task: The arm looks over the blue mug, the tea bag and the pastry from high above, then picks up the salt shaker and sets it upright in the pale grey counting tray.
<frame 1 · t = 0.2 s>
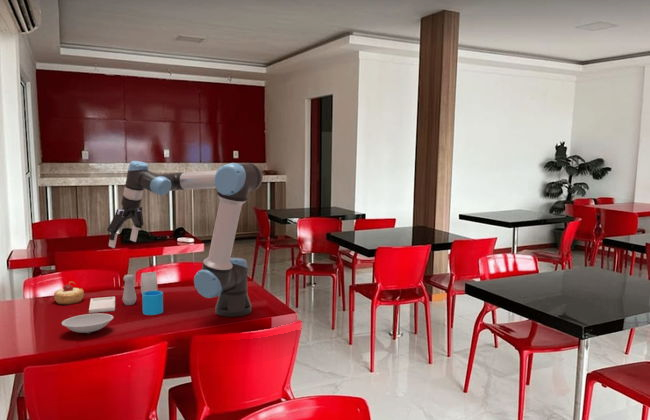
hand: (122, 243, 226), 27 cm above the table, tool tilted 15°, fingers open, 13 cm apart
counting tray: (102, 306, 227), on the table
dish: (88, 333, 196), on the table
mug: (152, 311, 223), on the table
salt shaker: (129, 304, 231), on the table
pastry: (69, 302, 233), on the table
tea bag: (149, 293, 249), on the table
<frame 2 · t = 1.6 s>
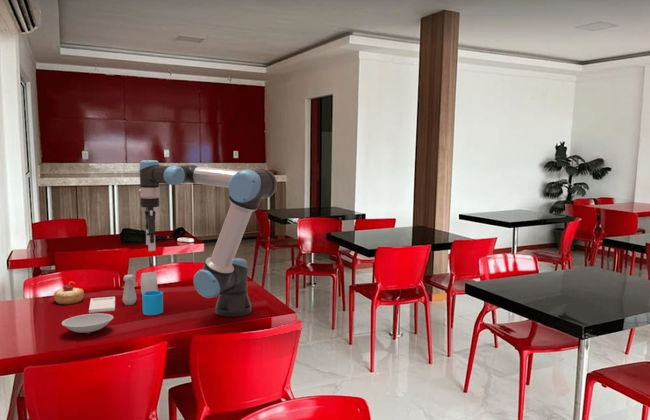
hand: (150, 247, 221), 27 cm above the table, tool pointing down, fingers open, 13 cm apart
nothing on the table moved.
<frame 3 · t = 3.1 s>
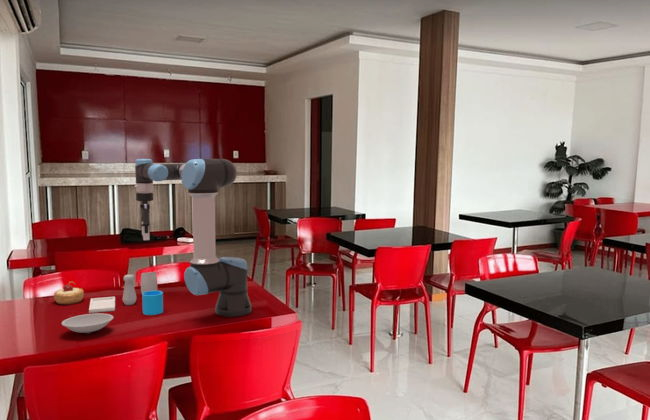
hand: (145, 237, 245), 27 cm above the table, tool pointing down, fingers open, 13 cm apart
nothing on the table moved.
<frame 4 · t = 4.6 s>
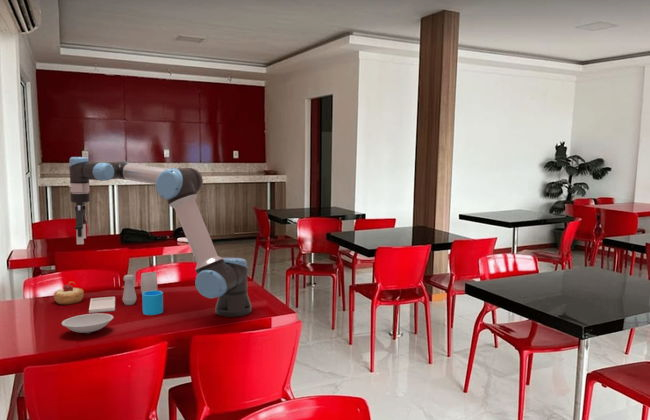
hand: (81, 241, 229), 27 cm above the table, tool pointing down, fingers open, 13 cm apart
nothing on the table moved.
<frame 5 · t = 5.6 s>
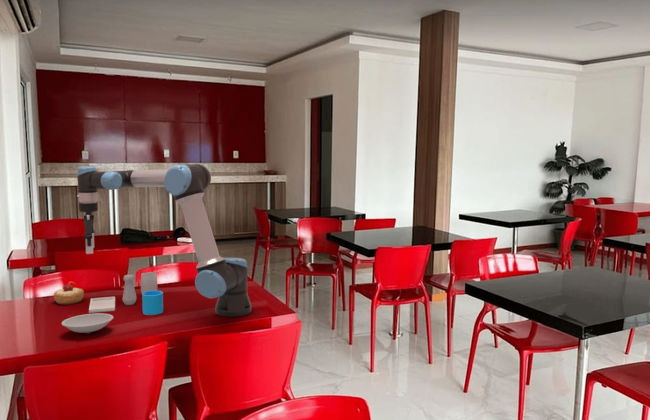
hand: (90, 250, 229), 24 cm above the table, tool pointing down, fingers open, 13 cm apart
nothing on the table moved.
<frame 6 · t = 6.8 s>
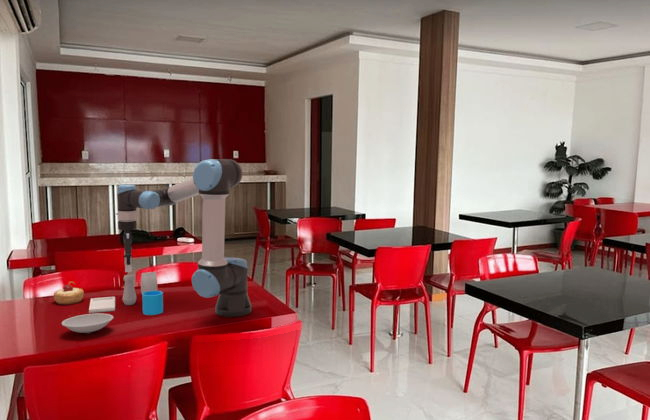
hand: (128, 268, 230), 16 cm above the table, tool pointing down, fingers open, 13 cm apart
nothing on the table moved.
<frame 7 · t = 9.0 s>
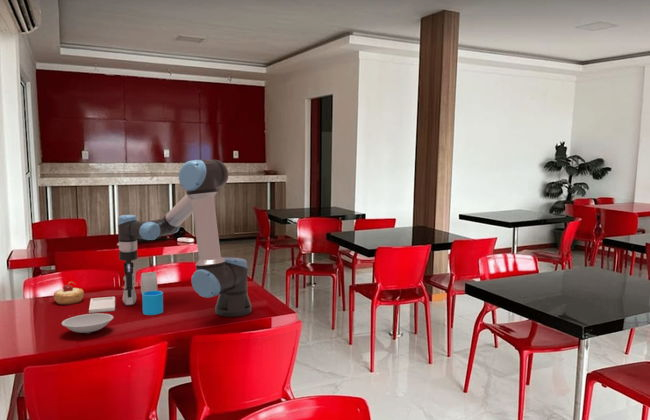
hand: (129, 301, 231), 1 cm above the table, tool pointing down, fingers closed on salt shaker, 6 cm apart
salt shaker: (129, 304, 231), on the table, touching gripper
everything else where it was.
when the fingers open (4 cm above the table, at t = 15.0 s): salt shaker drops 2 cm, resting on counting tray.
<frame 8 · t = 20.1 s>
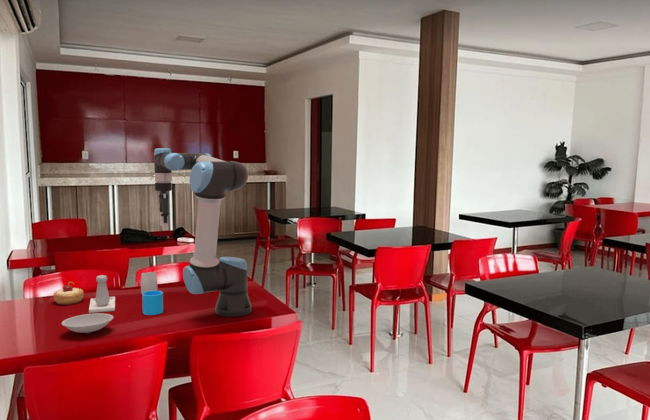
hand: (164, 228, 243), 32 cm above the table, tool pointing down, fingers open, 13 cm apart
salt shaker: (102, 305, 227), resting on counting tray
everything else where it was.
at the end: salt shaker inside the target area on the counting tray (0.1 cm from its centre), point 0.3 cm above the counting tray's base; salt shaker tilted 0°; the gripper is holding nothing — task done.
